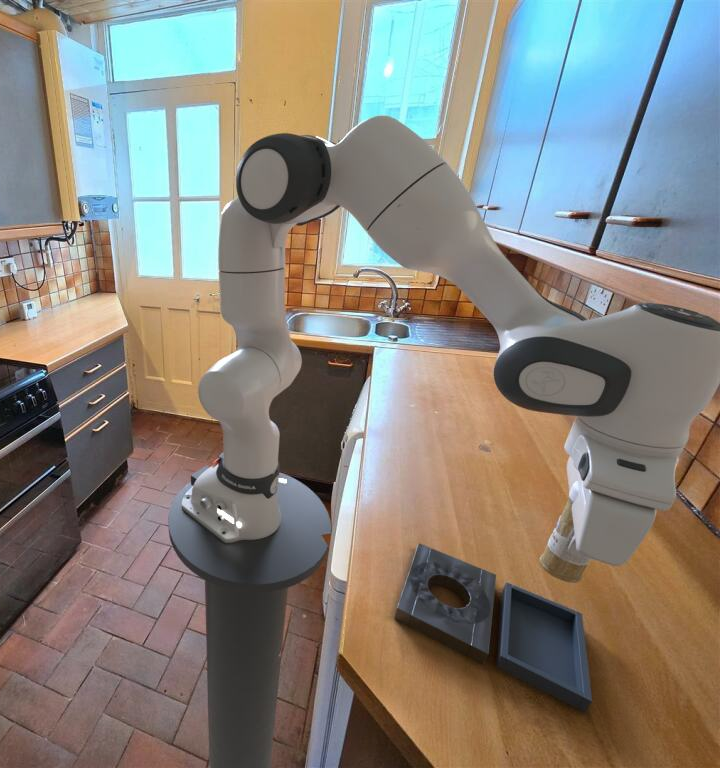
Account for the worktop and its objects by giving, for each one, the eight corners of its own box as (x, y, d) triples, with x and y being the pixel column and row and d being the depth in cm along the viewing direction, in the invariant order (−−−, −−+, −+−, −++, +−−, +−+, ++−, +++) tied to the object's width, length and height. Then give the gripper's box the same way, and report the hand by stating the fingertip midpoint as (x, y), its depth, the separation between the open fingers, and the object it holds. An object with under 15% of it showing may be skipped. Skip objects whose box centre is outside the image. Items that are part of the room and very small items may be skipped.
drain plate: (394, 618, 64) (397, 607, 63) (415, 552, 75) (418, 542, 74) (483, 665, 57) (488, 654, 56) (492, 585, 69) (496, 574, 68)
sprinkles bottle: (537, 551, 57) (572, 474, 52) (579, 566, 55) (620, 487, 49) (538, 574, 54) (576, 494, 48) (583, 591, 51) (628, 509, 46)
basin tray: (495, 666, 57) (500, 655, 56) (501, 592, 68) (506, 581, 67) (584, 712, 52) (592, 701, 51) (576, 624, 63) (582, 613, 61)
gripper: (575, 406, 56) (542, 486, 61) (591, 484, 41) (545, 581, 46) (638, 418, 52) (597, 502, 58) (681, 509, 37) (620, 610, 43)
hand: (574, 538), depth 52 cm, fingers closed on sprinkles bottle, 4 cm apart
